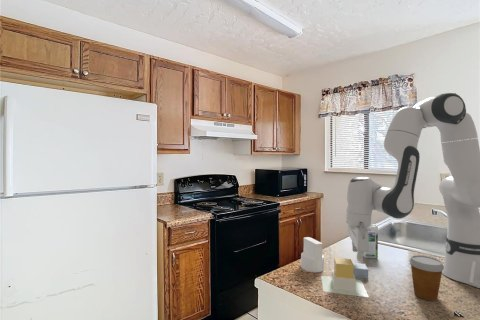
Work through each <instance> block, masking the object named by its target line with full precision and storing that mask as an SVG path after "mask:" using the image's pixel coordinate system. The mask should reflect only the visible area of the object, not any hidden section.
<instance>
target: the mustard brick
mask: <svg viewBox="0 0 480 320" xmlns="http://www.w3.org/2000/svg"><path fill="white" fill-rule="evenodd" d="M333 258H334V260H333V261H334V262H333V263H334V264H333V265H334V266H333V267H334V268H333V269H334V271H335V275H336V277H343V278H352V279H353V269H354V265H353V263H354V262H353V261H352V259H351V258H341V257H333Z"/></svg>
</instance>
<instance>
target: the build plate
mask: <svg viewBox="0 0 480 320" xmlns="http://www.w3.org/2000/svg"><path fill="white" fill-rule="evenodd" d="M320 277H321V278H320V279H321V284H322V291H323V292H325V293H331V294H332V293H333V294H340V295H348V296H357V297H363V298H370V297H369V294H368V292H367V290H366V288H365V286H364V285H365V284H364V283H363V281H362V280H360V279H356V292H353V291H345V290H337V289H333V284H332V276H325V275H320Z"/></svg>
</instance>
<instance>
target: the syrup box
mask: <svg viewBox="0 0 480 320" xmlns="http://www.w3.org/2000/svg"><path fill="white" fill-rule="evenodd" d="M367 228H368V229H367V230H368V234H369V249H368V252H364V254H363V258H364V259H366V258H367V259H368V258H369V259H378V258H379V255H378V254H379V250H378V249H379V227H378V226H377V225H376V224H374V223H371V226H370V227H367Z"/></svg>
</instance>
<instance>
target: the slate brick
mask: <svg viewBox="0 0 480 320" xmlns="http://www.w3.org/2000/svg"><path fill="white" fill-rule="evenodd" d="M352 263H353V265H354V269H353V274H354V276H355V278H357V279H358V278H359V279H369V268H368V267H367V265H366V263H362V262H361V263H360V262H352Z"/></svg>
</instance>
